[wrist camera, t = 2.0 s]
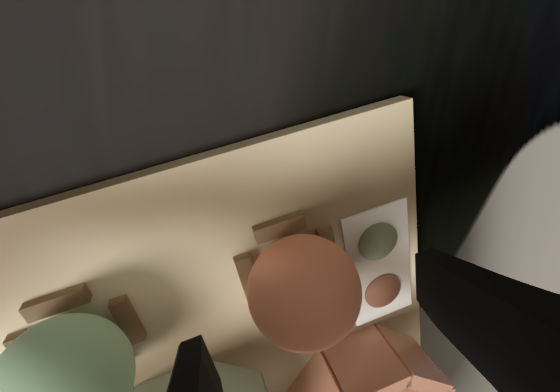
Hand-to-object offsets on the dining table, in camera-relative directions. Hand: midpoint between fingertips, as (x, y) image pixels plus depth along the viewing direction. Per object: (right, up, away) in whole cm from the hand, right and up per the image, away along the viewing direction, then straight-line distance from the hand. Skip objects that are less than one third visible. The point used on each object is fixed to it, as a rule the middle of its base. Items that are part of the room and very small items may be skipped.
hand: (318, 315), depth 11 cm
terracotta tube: (+3, -6, +8) cm, 10 cm away
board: (-3, -3, +5) cm, 7 cm away
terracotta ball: (-1, +1, +3) cm, 3 cm away
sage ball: (-8, -1, +2) cm, 9 cm away
